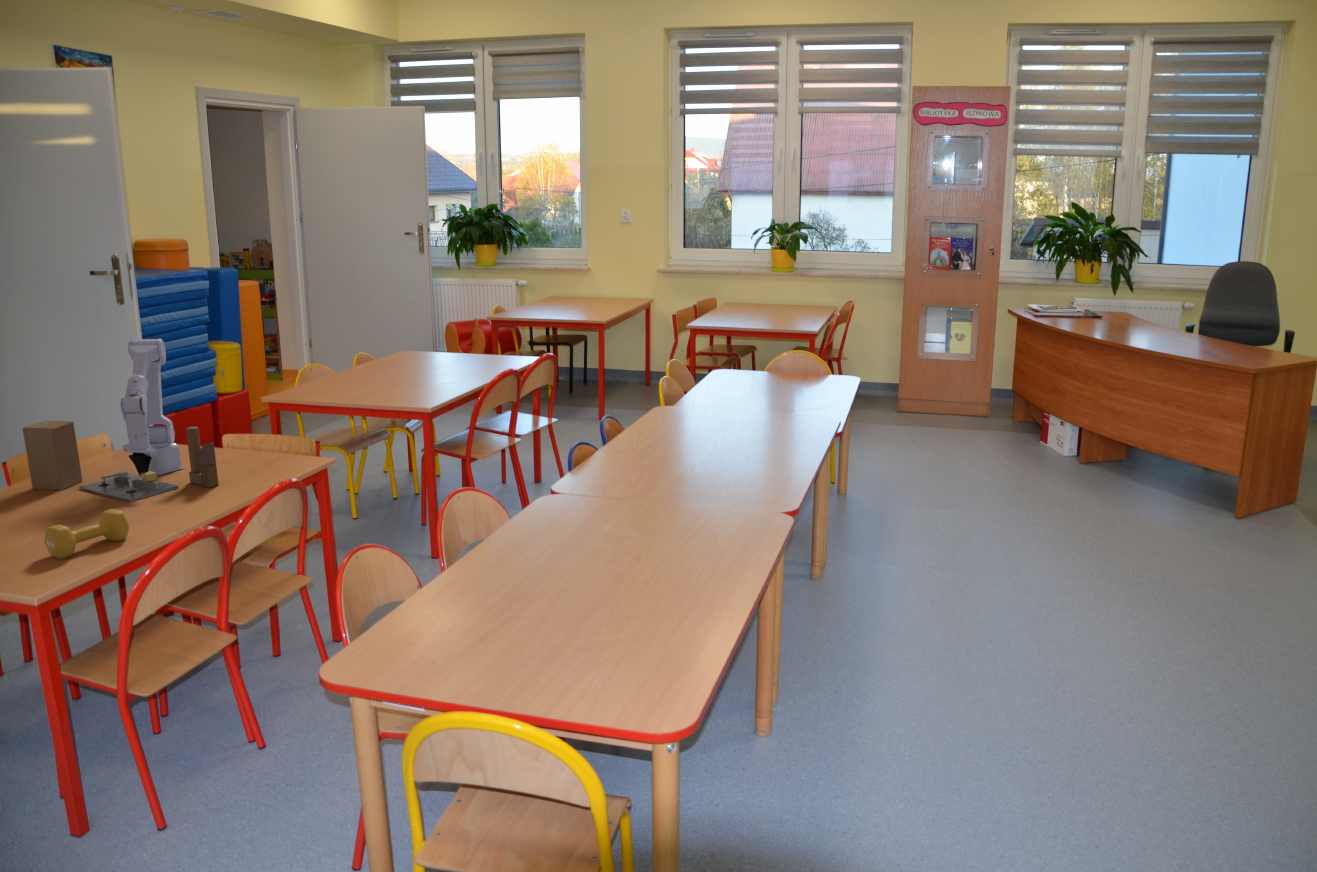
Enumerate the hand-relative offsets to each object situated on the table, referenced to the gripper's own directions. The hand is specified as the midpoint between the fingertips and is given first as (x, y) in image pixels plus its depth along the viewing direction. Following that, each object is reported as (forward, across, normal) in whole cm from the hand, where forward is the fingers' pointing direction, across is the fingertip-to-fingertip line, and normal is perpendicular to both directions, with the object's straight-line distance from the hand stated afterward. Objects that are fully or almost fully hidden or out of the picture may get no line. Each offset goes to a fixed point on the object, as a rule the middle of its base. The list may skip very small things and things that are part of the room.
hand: (143, 475), depth 303 cm
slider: (+3, +2, -2) cm, 4 cm away
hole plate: (+4, -4, -3) cm, 6 cm away
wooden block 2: (+4, +12, +12) cm, 18 cm away
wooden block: (+4, -27, -12) cm, 30 cm away
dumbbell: (+4, +36, -39) cm, 53 cm away
